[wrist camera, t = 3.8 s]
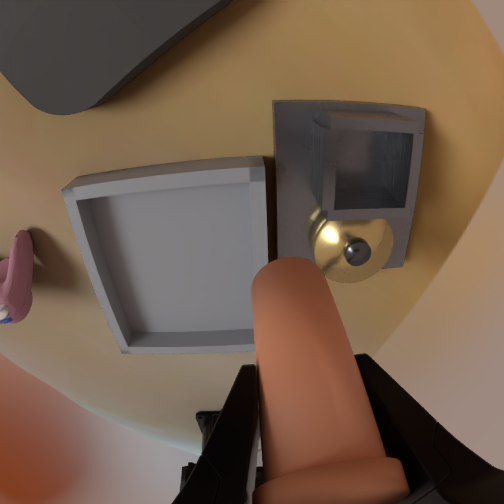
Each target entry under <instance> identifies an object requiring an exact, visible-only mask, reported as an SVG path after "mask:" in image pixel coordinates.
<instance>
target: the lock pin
mask: <svg viewBox="0 0 504 504" xmlns="http://www.w3.org/2000/svg"><path fill="white" fill-rule="evenodd" d="M251 297H252V313H253V328H254V343H255V358H256V373H257V388H258V403H259V418H260V433H261V447H262V461H263V476H264V484H262V485H260V486H259V487H257V488H256V489H255V490H254V491H253V492H252V504H396V503H398V502H400V501H401V500H403V499H404V498H406V497H407V496H408V495H409V493H410V490H409V486H408V483H407V479H406V476H405V472H404V469H403V466H402V463H401V461H400V460H398V459H395V458H390V457H386V453H385V450H384V447H383V443H382V440H381V437H380V433H379V430H378V427H377V424H376V420H375V417H374V414H373V411H372V408H371V405H370V401H369V398H368V395H367V392H366V389H365V386H364V383H363V380H362V377H361V374H360V371H359V368H358V366H357V363H356V360H355V357H354V354H353V351H352V348H351V345H350V343H349V340H348V337H347V334H346V331H345V329H344V326H343V323H342V321H341V318H340V315H339V312H338V310H337V307H336V304H335V302H334V299H333V296H332V294H331V291H330V289H329V286H328V283H327V281H326V278H325V276H324V274H323V271H322V270H321V269H320V267H319V266H318V265H316V264H315V263H314V262H312V261H310V260H308V259H305V258H301V257H284V258H280V259H277V260H274V261H272V262H270V263H268V264H267V265H265V266H264V267H263V268H261V270H260V271H259V272H258V273H257V274H256V276H255V277H254V279H253V282H252V286H251Z"/></svg>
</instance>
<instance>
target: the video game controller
mask: <svg viewBox="0 0 504 504" xmlns="http://www.w3.org/2000/svg"><path fill="white" fill-rule="evenodd" d="M33 262H34V253H33V244H32V239H31V237H30V234H29V232H27V231H26V230H20V231H19V232H18V233H17V234H16V236H15V237H14V240H13V242H12V245H11V250H10V258H6V259H3V260H2V261H1V262H0V324H2V323H17V322H20V321H21V320H23V319H24V318H25V317H26V316H27V314H28V313H29V311H30V308H31V305H32V299H33V297H32V292H31V288H32V277H33Z"/></svg>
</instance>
